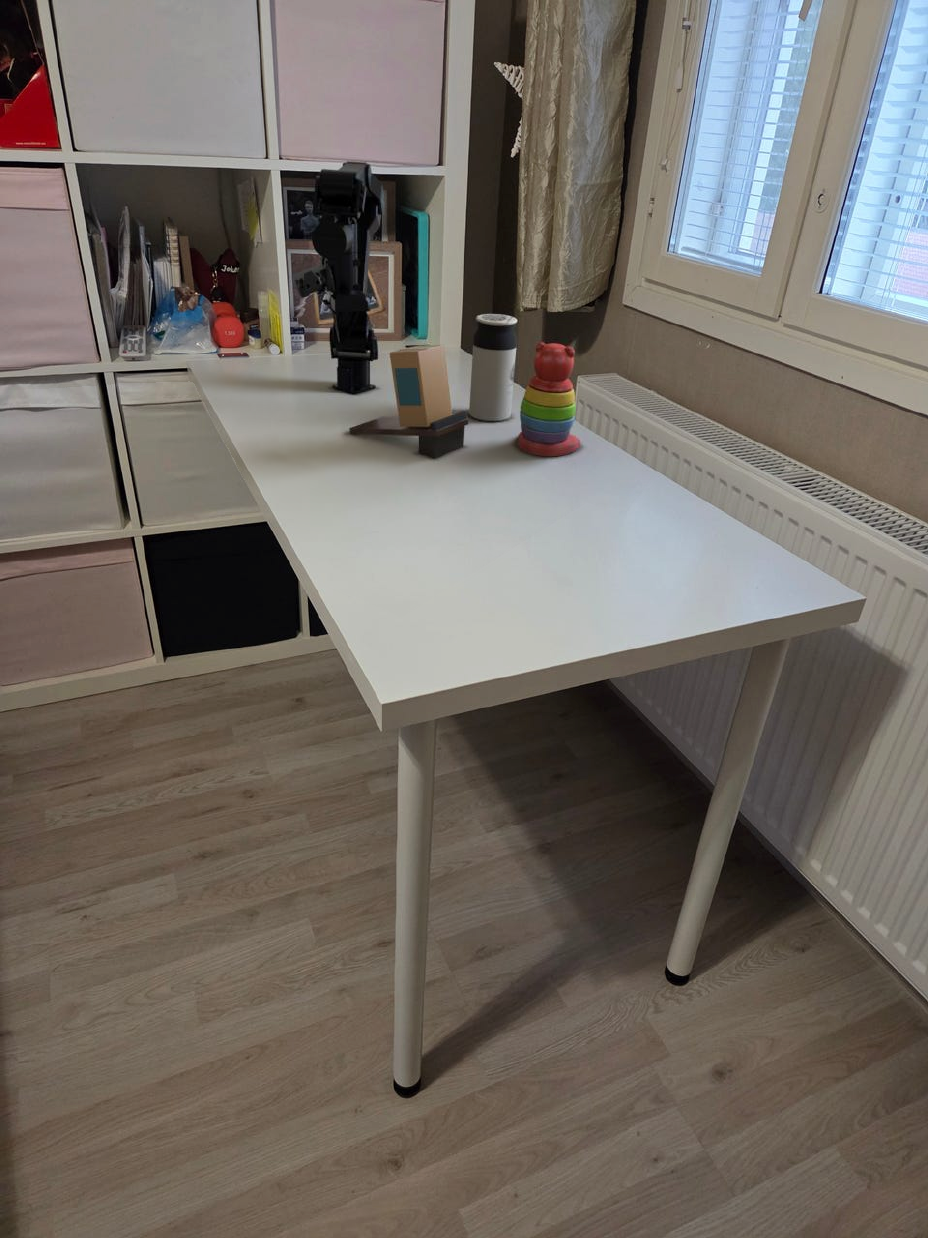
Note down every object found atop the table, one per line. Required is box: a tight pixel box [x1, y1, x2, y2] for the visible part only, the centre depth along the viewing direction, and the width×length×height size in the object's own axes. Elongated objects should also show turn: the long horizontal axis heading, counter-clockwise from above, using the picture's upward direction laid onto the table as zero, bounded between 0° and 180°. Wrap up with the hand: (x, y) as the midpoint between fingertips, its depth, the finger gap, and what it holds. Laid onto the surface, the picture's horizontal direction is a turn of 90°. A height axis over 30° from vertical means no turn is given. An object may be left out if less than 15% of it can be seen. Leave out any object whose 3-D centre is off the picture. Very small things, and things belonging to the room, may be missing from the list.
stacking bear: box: [516, 341, 581, 457], centre depth 144 cm, size 11×10×18 cm
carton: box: [389, 344, 453, 427], centre depth 141 cm, size 8×7×13 cm
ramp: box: [348, 410, 469, 460], centre depth 146 cm, size 19×9×6 cm, turn 55°
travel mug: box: [468, 313, 518, 422], centre depth 158 cm, size 8×8×18 cm
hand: (342, 342), depth 156 cm, fingers closed
